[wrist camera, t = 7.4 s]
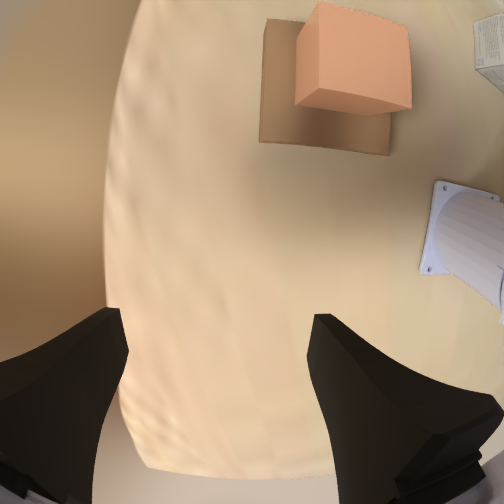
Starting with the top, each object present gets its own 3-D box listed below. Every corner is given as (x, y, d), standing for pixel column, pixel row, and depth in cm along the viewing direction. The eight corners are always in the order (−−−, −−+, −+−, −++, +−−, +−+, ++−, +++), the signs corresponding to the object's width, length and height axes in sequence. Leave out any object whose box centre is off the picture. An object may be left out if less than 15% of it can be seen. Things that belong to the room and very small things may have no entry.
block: (366, 52, 13) (407, 27, 8) (366, 116, 15) (411, 108, 10) (296, 38, 13) (318, 1, 8) (294, 105, 14) (319, 87, 10)
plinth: (373, 52, 15) (389, 43, 13) (371, 154, 18) (388, 155, 16) (263, 33, 15) (267, 18, 12) (258, 142, 17) (262, 140, 15)
